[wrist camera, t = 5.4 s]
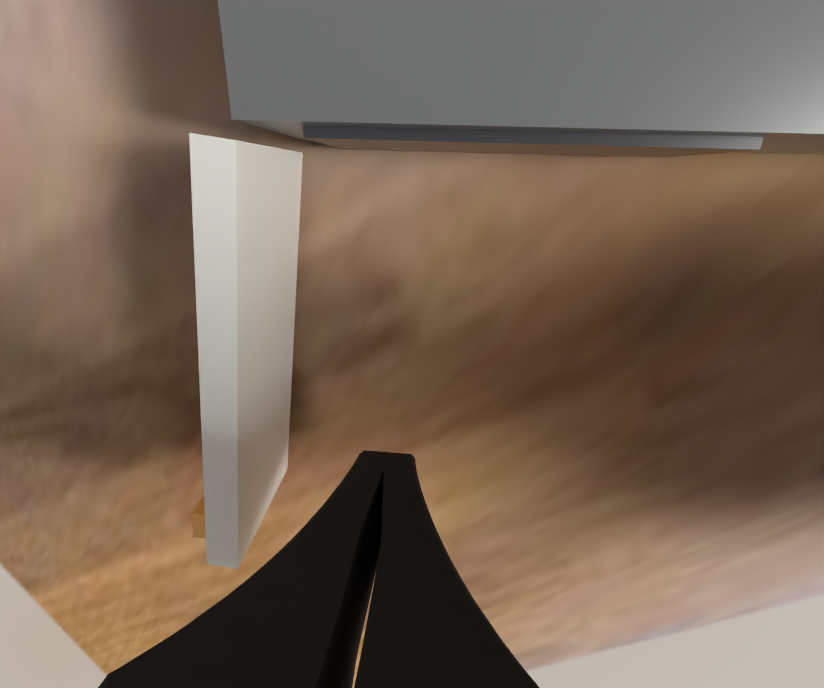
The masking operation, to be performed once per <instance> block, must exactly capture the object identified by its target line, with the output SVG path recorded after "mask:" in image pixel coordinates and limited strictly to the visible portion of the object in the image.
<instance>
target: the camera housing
mask: <svg viewBox="0 0 824 688" xmlns="http://www.w3.org/2000/svg"><path fill="white" fill-rule="evenodd" d="M218 8H219V17H220V25H221V34H222V43H223V51H224V60H225V68H226V77H227V86H228V94H229V103H230V112H231V120H235V121H238V122H242V123H245V124H249V125H252V126H256V127H259V128H263V129H266V130H270V131H273V132H277V133H280V134H284V135H287V136H291V137H294V138H298V139H301V140H305V141H315V142H319V143H322V144H325V145H329V146H332V147H335V148H338V149H366V150H404V151H443V152H481V153H520V154H558V155H596V156H635V157H675V156H688V155H700V154H712V153H724V152H758V153H797V154H824V0H218Z"/></svg>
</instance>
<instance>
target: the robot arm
mask: <svg viewBox="0 0 824 688" xmlns="http://www.w3.org/2000/svg"><path fill="white" fill-rule="evenodd" d="M376 568H377V569H376ZM375 573H376V575H375ZM374 577H375V581H374ZM373 581H374V587H373V592H372V598H371V604H370V609H369V615H368V620H367V625H366V631H365V636H364V641H363V647H362V652H361V657H360V662H359V667H358V672H357V677H356V682H355V687H354V688H539V687H538V686H537V684H536V683H535V682H534V681H533V679H532V678H531V677H530V676H529V675H528V673H527V672H526V671H525V670H524V668H523V667H522V666H521V665H520V663H519V662H518V661H517V659H516V658H515V657H514V655H513V654H512V653H511V652H510V650H509V649H508V648H507V646H506V645H505V644H504V642H503V641H502V640H501V638H500V637H499V635H498V634H497V633H496V631H495V630H494V628H493V627H492V625H491V624H490V622H489V621H488V619H487V618H486V617H485V615H484V614H483V612H482V611H481V609H480V608H479V606H478V605H477V604H476V602H475V601H474V599H473V597H472V596H471V594H470V592H469V591H468V589H467V587H466V586H465V584H464V582H463V581H462V579H461V577H460V576H459V574H458V572H457V570H456V568H455V567H454V565H453V563H452V561H451V559H450V557H449V555H448V553H447V551H446V549H445V547H444V545H443V543H442V541H441V539H440V537H439V534H438V532H437V530H436V528H435V525H434V523H433V521H432V518H431V516H430V513H429V510H428V508H427V505H426V502H425V500H424V497H423V494H422V491H421V487H420V483H419V480H418V476H417V471H416V465H415V458H414V457H413V456H412V454H402V453H390V452H377V451H365V450H364V451H363V452H362V453H360V454H359V456H358V458H357V460H356V461H355V463H354V464H353V466H352V468H351V469H350V470H349V472H348V473H347V475H346V476H345V478H344V479H343V480H342V482H341V483H340V484H339V486H338V487H337V488H336V489H335V491H334V492H333V493H332V495H331V496H330V497H329V498H328V500H327V501H326V502H325V503H324V505H323V506H322V507H321V508H320V509H319V510H318V511H317V513H316V514H315V515H314V516H313V517H312V518H311V519H310V520H309V521H308V523H307V524H306V525H305V526H304V527H303V528H302V529H301V530H300V531H299V532H298V533H297V534H296V535H295V536H294V537H293V538H292V540H291V541H289V542H288V543H287V544H286V545H285V546H284V547H283V548H282V549H281V550H280V551H279V552H278V553H277V554H276V555H275V556H274V557H273V558H272V559H271V560H269V561H268V562H267V563H266V564H265V565H264V566H263V567H261V568H260V569H259V570H258V571H257V572H255V573H254V574H253V575H252V576H251V577H250V578H248V579H247V580H246V581H245V582H244V583H243V584H241V585H240V586H239V587H238V588H236V589H235V590H234V591H233V592H231V593H230V594H229V595H227V596H226V597H225V598H223V599H222V600H221V601H219V602H218V603H216V604H215V605H214V606H212V607H211V608H210V609H208V610H207V611H205V612H204V613H203V614H201V615H200V616H199V617H197V618H196V619H194V620H193V621H192V622H190V623H189V624H188V625H186V626H185V627H183V628H182V629H180V630H179V631H177V632H176V633H174V634H173V635H171V636H170V637H168V638H167V639H165V640H163V641H162V642H160V643H159V644H157V645H155V646H154V647H152V648H151V649H149V650H147V651H146V652H144V653H143V654H141V655H139V656H138V657H136V658H135V659H133V660H131V661H130V662H128V663H127V664H125V665H123V666H122V667H120V668H118V669H117V670H115V671H113V672H111V673H110V674H108V675H107V676H106V678H105V679H104V681H103V682H102V683H101V685H100V686H99V687H98V688H352V684H353V677H354V670H355V664H356V659H357V653H358V648H359V643H360V639H361V634H362V630H363V625H364V621H365V617H366V612H367V608H368V603H369V599H370V595H371V590H372V586H373Z"/></svg>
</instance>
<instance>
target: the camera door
mask: <svg viewBox="0 0 824 688" xmlns="http://www.w3.org/2000/svg"><path fill="white" fill-rule="evenodd" d="M189 141H190V166H191V190H192V214H193V238H194V262H195V286H196V311H197V335H198V359H199V383H200V407H201V431H202V456H203V480H204V497H203V498H202V500H201V501H200V502H199V504H198V505H197V507H196V508H195V509H194V511H193V512H192V523H193V536H194V537H200V538H206V552H207V564H210V565H216V566H223V567H230V568H237V569H238V568H239V566H240V564H241V562H242V560H243V558H244V556H245V554H246V552H247V550H248V548H249V546H250V544H251V542H252V540H253V538H254V535H255V533H256V531H257V529H258V527H259V525H260V523H261V521H262V519H263V517H264V515H265V513H266V511H267V509H268V507H269V505H270V503H271V501H272V499H273V497H274V495H275V493H276V491H277V489H278V487H279V485H280V483H281V481H282V479H283V477H284V475H285V473H286V471H287V467H288V446H289V426H290V405H291V385H292V364H293V344H294V323H295V303H296V282H297V262H298V241H299V221H300V200H301V180H302V159H303V153H302V152H296V151H291V150H286V149H280V148H275V147H270V146H264V145H259V144H253V143H248V142H243V141H237V140H231V139H225V138H219V137H213V136H206V135H200V134H194V133H189Z"/></svg>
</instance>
